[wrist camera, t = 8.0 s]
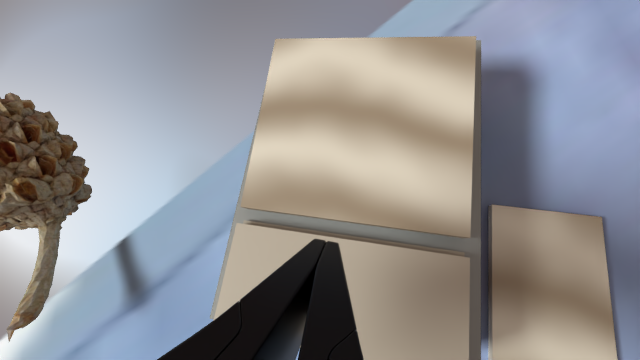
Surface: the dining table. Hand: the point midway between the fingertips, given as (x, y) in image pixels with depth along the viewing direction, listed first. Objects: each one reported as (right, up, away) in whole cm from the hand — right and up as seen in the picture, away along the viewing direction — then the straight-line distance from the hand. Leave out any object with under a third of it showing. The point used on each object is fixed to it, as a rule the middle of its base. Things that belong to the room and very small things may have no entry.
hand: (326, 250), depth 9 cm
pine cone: (-25, -1, +19) cm, 32 cm away
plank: (+16, -6, +10) cm, 20 cm away
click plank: (+2, +6, +10) cm, 12 cm away
